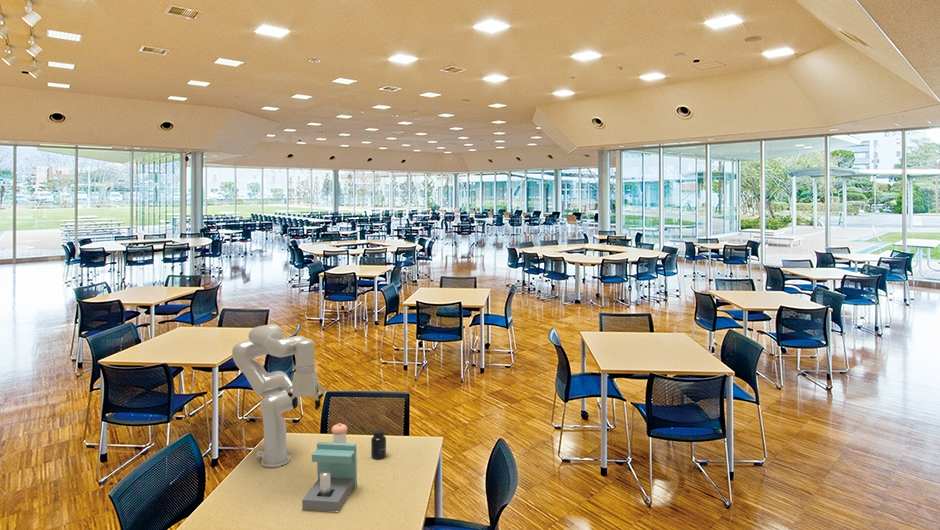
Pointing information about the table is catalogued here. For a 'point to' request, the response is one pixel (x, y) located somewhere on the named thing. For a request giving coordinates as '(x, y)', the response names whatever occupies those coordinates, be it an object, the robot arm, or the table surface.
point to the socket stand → (333, 475)
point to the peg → (325, 484)
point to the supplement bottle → (378, 445)
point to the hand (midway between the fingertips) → (306, 408)
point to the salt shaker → (339, 433)
